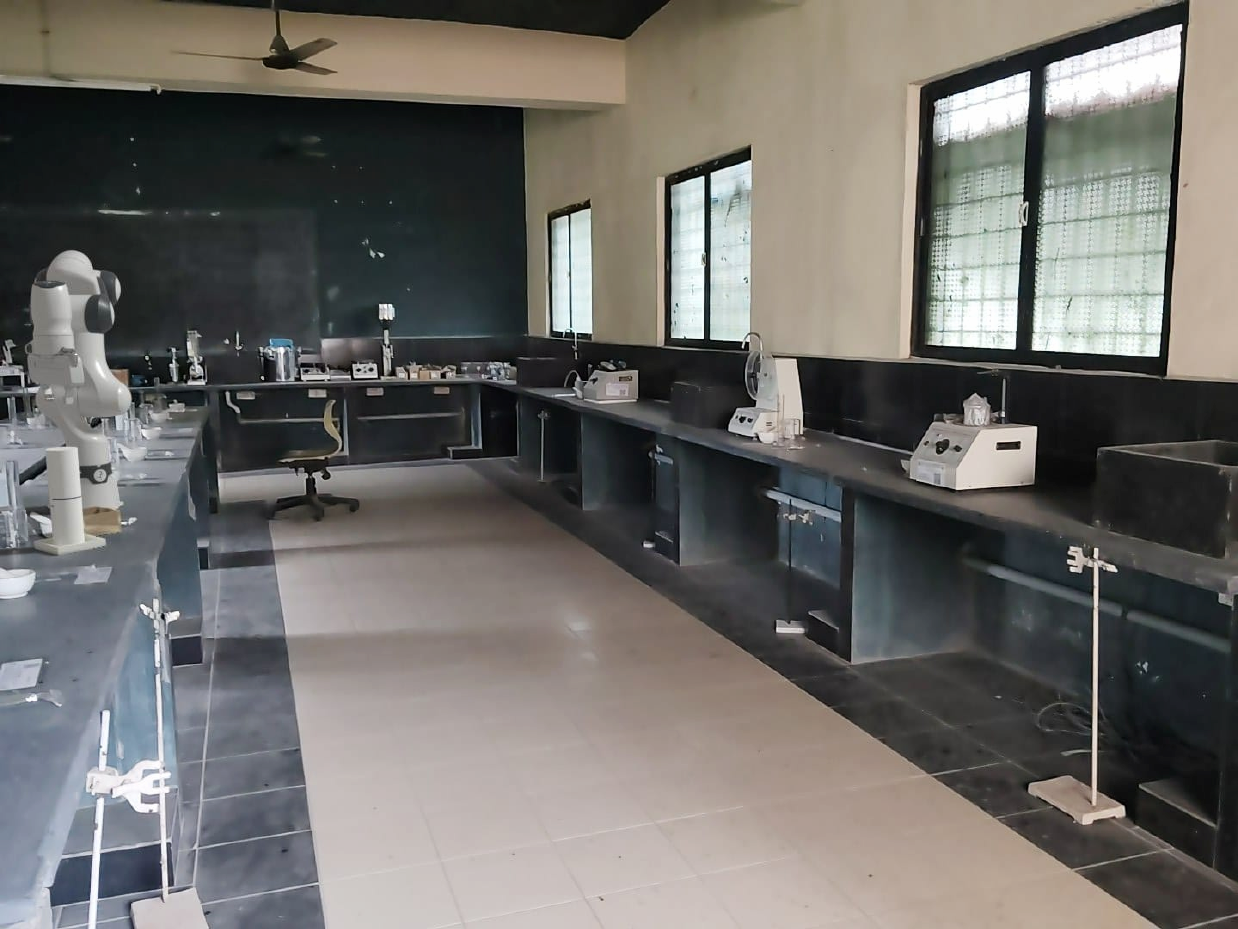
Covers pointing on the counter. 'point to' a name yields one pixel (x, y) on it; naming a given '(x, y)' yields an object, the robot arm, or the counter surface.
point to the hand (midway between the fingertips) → (58, 402)
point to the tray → (89, 544)
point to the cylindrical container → (65, 495)
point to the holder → (101, 520)
